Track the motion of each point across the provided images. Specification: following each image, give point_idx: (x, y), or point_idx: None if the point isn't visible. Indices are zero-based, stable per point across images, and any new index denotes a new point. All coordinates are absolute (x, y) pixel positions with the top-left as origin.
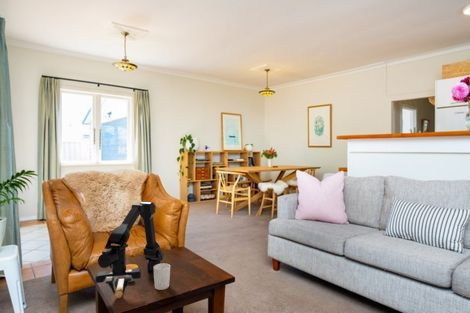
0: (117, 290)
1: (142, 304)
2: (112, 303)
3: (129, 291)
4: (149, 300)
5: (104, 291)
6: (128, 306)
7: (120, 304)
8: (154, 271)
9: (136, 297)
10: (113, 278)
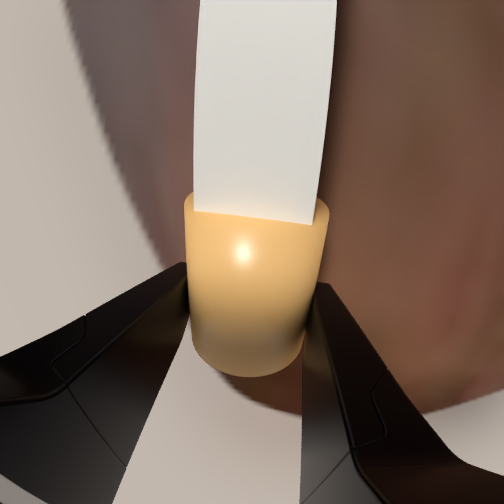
0: (214, 344)
1: (433, 411)
2: None
3: (428, 109)
4: (497, 381)
5: (66, 8)
6: None
7: (276, 372)
8: None
9: (453, 314)
10: (20, 486)
